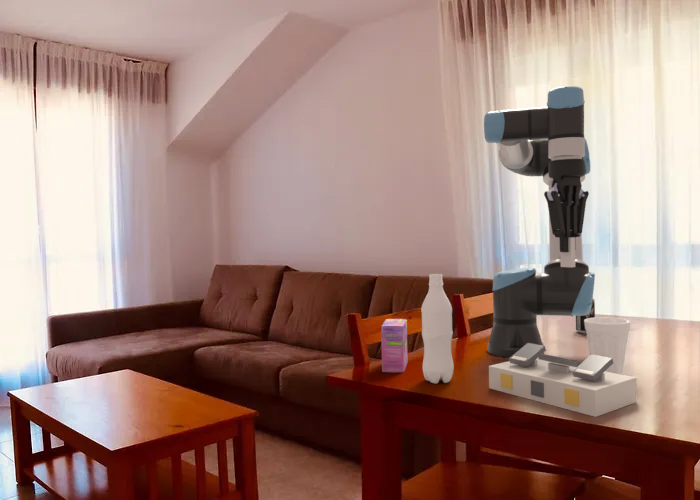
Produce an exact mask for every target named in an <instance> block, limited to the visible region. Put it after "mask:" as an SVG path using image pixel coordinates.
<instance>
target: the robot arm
mask: <svg viewBox="0 0 700 500" xmlns="http://www.w3.org/2000/svg"><path fill="white" fill-rule="evenodd" d="M585 102H586V101H585V97H584V90H583V88H582V87H581V86H578V85H567V86H565V85H564V86H558V87H555V88H552V89H550V90H549V91H548V92H547V102H546V106H541V107H540V106H539V107H528V108H527V107H526V108H517V109H516V108H515V109H506V110H505V109H503V110H502V109H498V110H494V111H488V112H486V113H485V114H484V117H483V134H484V139H485V142H486V143H487V144H488V143H490V144H494V143H495V144H498V145H497V146H498V148H499V150H498V157H499V160H500V162H501V164H502V165H503V166H504V167H505V168H506V169H507V170H509V171H511V172H512V173H514V174H518V175H521V176H526V177H542V181H543V183H544V184H546V185H547V186H548V190H547V191H544V193H543V196H544V197H545V201H546V202H547V208H548V229H549V231H548V232H549V234H548V235H549V236H548V238H549V241H548V242H549V261H548V262H547V263H546V264H545V265H544V266H543V272H537V270H536V268H535V267H521V268H513V269H508V270H502V271H500V272H496V273H495V274H494V276H493V277H492V290H491V291H492V298H493V299H492V300H493V305H492V306H493V311H492V313H493V316H492V317H493V325H492V329H491V331H490V334H489V340H488V342H487V353H488V354H491V355H494V356H498V357H504V358H505V357H506V358H510V357H511V356H512V355H514V354H515V353H516V352H517V351H519V350H520V349H521V348H522V347H523V346H525V345H526V344H527V343H531V344H537V345H542V346H545V345H544V342H543V341H542V338H541V334H540V330H539V327H538V325H537V316H561V317H562V316H565V317H566V316H567V317H568V316H569V317H576V316H583V315H587V314H589V313H590V311H591V306H592V299H594V298H593V297H594V289H595V277H596V274H595V273H594V272H592V271H590V269H589V265H588V264H587V263H586V262H585V261H583V239H582V235H583V228H584V220H585V212H586V205H587V199H588V197H589V191H588V190H583V188H582V187H583V186H582V183H583V182H584V181H585V179H586V175H588V174H590V172H591V159H590V151H589V150H590V149H589V144H588V143H587V142H588V141H587V139H586V137H585Z"/></svg>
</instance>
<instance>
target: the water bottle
mask: <svg viewBox="0 0 700 500" xmlns="http://www.w3.org/2000/svg"><path fill="white" fill-rule="evenodd" d="M428 277H429V281H428V282H429V283H428V286H429V287H428V290H427V291H428V292H427V294H426V296H425V298H424V299H423V302H422V304H421V308H420V310H421V311H420V312H421V337H422V341H423V351H424V352H423V361H422V374H423V376H424V379H425V380H426V381H427V382H430V383H432V384H438V383H439V382H440V380H442V382H443V383H444V384H446V383H449V382H450V381H451V380H452V377H453V375H454V370H455V369H454V361H453V356H452V340H453V334H454V331H453V316H452V315H453V307H452V303H451V302H450V300H449V298H448V297H447V294H446V293H445V290H444V280H443V274H442V273H430V274H429V276H428Z"/></svg>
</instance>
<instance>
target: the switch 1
mask: <svg viewBox="0 0 700 500" xmlns="http://www.w3.org/2000/svg"><path fill="white" fill-rule="evenodd" d="M546 351H547V348H546V346H545V345H544V346H542V345H537V344H531V343H527V344H526V345H525V346H523V347H522V348H521V349H520V350H519V351H517V352H516V353H515V354H514V355H512V356H511V357H508V359H509V360H508V361H510V363H512V364H517V365H521V366H526V367H527V366H529V365H530V364H531V363H532V362H533V361H535V360H536V359H537V358H539V355H540V354H545V352H546Z"/></svg>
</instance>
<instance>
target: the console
mask: <svg viewBox="0 0 700 500" xmlns="http://www.w3.org/2000/svg"><path fill="white" fill-rule="evenodd" d="M575 368H577V367H572V366H567V365H562V364H557V363H553V362H548V361H544V360H540V359H539V357H538V358H537V359H536V360H535V361H533V362H532V363H531V364H530V365H529V366H527V367H526V366H521V365H517V364H512V363H510V361H509V360H508V361H504V362H500V363H495V364H492V365H488V388H489V389H491V390H494V391H497V392H501V393H505V394H509V395H513V396H516V397H521V398H525V399H528V400H531V401H535V402H537V403H538V402H539V403H543V404H547V405H551V406H555V407H556V408H557V407H558V408H561V409H565V410H569V411H572V412H576V413H580V414H584V415H587V416H591V417H595V418H597V417H599V416H601V415H605V414H608V413H610V412H613V411H616V410H618V409H621V408H624V407H627V406H629V405H633V404H635V403H637V377H636V376H631V375H625V374H622V375H621V374H616V373H611V372H606V371H605V372H604V373H603V374H601V375H600V376H599V377H598V378H597V379H596V380H595V381H591V380H587V379H582V378H578V377H574V376H573V373H572V371H573V370H574V369H575Z"/></svg>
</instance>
